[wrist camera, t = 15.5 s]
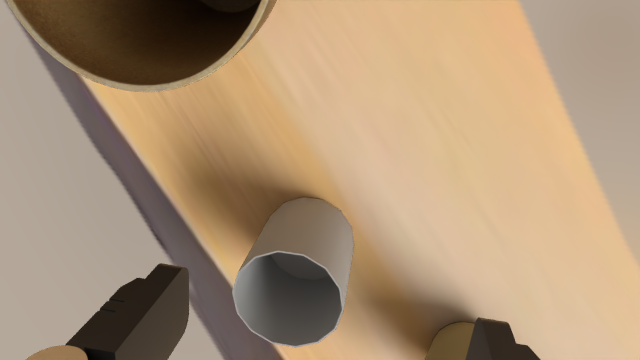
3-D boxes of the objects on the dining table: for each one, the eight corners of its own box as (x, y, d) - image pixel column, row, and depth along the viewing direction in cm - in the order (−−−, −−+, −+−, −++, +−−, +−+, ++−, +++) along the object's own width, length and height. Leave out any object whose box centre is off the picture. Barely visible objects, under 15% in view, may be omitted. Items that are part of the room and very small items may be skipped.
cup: (250, 247, 45) (214, 309, 36) (292, 180, 42) (264, 230, 33) (325, 291, 46) (308, 364, 37) (371, 229, 43) (365, 291, 34)
